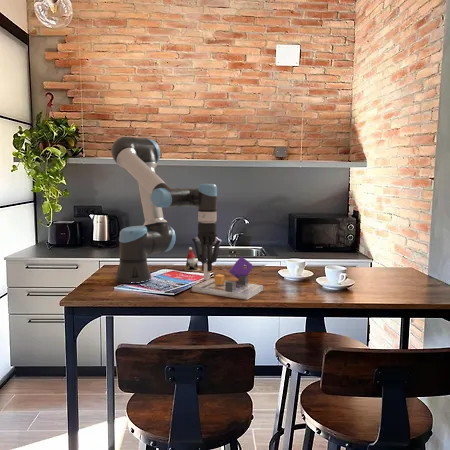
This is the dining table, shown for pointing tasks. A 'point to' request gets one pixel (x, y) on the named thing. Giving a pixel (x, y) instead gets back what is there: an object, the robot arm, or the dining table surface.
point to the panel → (225, 293)
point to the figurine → (191, 261)
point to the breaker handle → (219, 279)
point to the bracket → (241, 267)
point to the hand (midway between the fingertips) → (206, 278)
